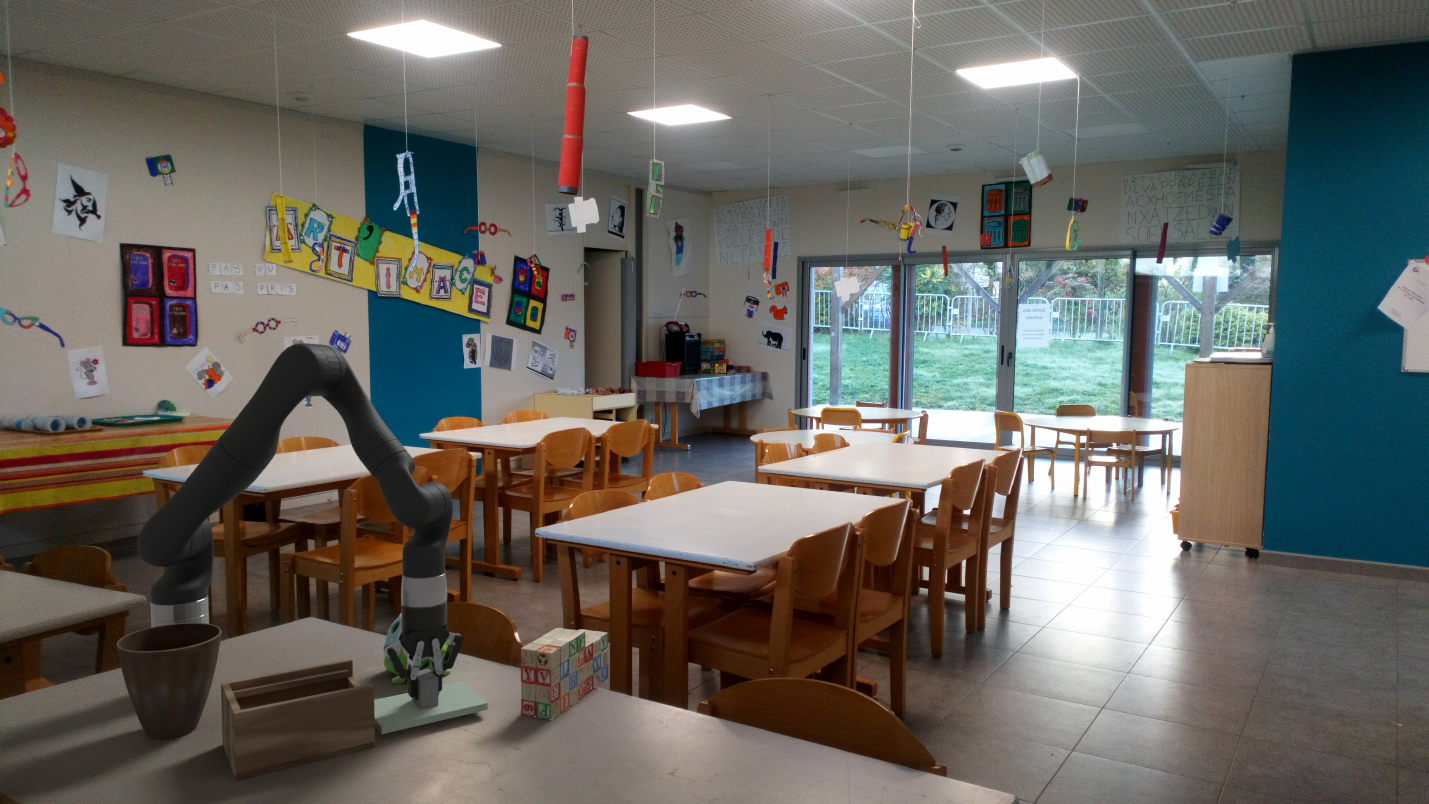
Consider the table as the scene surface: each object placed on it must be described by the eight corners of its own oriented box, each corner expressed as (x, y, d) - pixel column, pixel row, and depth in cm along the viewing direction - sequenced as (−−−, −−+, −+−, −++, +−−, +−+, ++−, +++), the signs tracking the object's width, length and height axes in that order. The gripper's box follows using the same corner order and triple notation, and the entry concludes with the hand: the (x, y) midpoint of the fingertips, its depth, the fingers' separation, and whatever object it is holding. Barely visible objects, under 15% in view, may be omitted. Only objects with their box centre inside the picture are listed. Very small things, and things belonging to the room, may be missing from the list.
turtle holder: (405, 699, 167) (404, 635, 166) (375, 669, 181) (374, 610, 180) (470, 684, 174) (469, 622, 173) (436, 657, 189) (435, 600, 188)
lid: (362, 708, 159) (361, 674, 158) (463, 687, 169) (463, 654, 169) (381, 734, 149) (381, 697, 148) (487, 709, 159) (487, 674, 159)
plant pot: (217, 704, 163) (214, 616, 162) (230, 734, 151) (227, 640, 150) (117, 724, 154) (114, 631, 153) (122, 758, 142) (119, 657, 141)
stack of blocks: (580, 674, 180) (580, 613, 179) (609, 678, 178) (609, 617, 177) (520, 715, 160) (520, 646, 160) (551, 721, 158) (551, 651, 157)
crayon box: (222, 744, 147) (220, 682, 147) (352, 715, 159) (351, 658, 158) (236, 780, 135) (234, 713, 135) (374, 747, 147) (374, 685, 146)
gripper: (456, 588, 165) (456, 681, 166) (376, 599, 157) (377, 697, 158) (471, 598, 159) (471, 694, 160) (388, 610, 150) (389, 712, 152)
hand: (424, 695), depth 159 cm, fingers closed on lid, 3 cm apart
